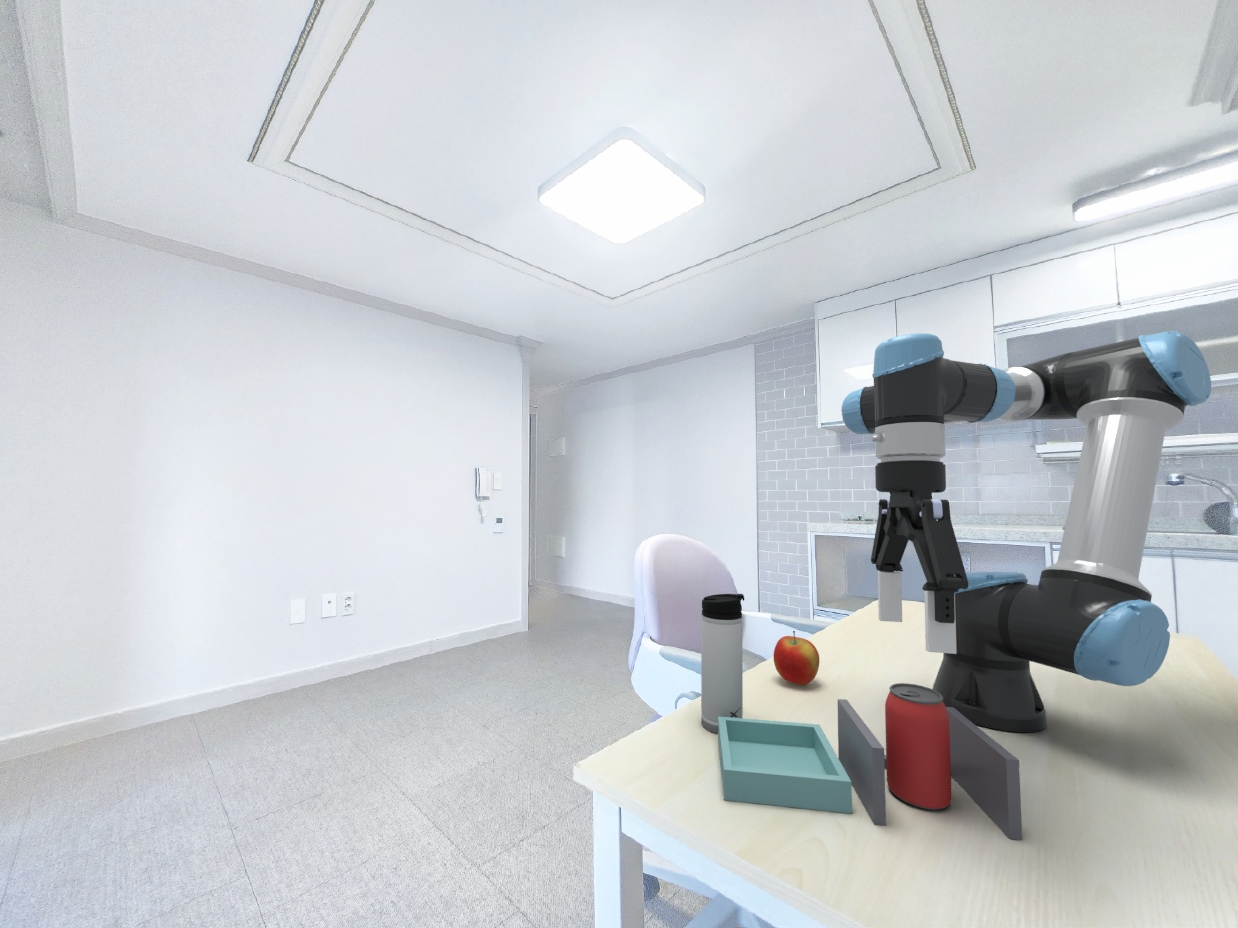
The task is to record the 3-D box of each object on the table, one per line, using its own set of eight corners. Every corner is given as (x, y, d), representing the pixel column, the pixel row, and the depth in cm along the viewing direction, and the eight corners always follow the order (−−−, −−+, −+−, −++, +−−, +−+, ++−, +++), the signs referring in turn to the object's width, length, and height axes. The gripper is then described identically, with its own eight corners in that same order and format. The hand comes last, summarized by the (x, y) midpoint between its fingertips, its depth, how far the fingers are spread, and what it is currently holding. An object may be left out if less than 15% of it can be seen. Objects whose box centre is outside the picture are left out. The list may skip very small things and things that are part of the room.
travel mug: (746, 737, 71) (745, 598, 73) (700, 732, 73) (700, 596, 74) (743, 718, 77) (743, 591, 79) (701, 714, 79) (702, 589, 80)
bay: (955, 770, 63) (953, 707, 64) (1022, 839, 50) (1018, 759, 51) (838, 760, 65) (837, 698, 66) (874, 824, 53) (872, 747, 53)
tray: (819, 749, 68) (819, 724, 68) (851, 813, 54) (851, 781, 55) (717, 740, 70) (718, 716, 70) (724, 799, 56) (724, 769, 57)
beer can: (875, 780, 61) (873, 681, 62) (924, 778, 61) (922, 680, 62) (911, 814, 54) (908, 703, 55) (966, 811, 55) (962, 702, 56)
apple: (827, 684, 92) (827, 631, 93) (805, 695, 87) (805, 638, 87) (789, 672, 98) (788, 622, 99) (766, 682, 93) (765, 628, 94)
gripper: (846, 467, 73) (847, 609, 72) (923, 450, 49) (928, 667, 47) (899, 467, 72) (902, 612, 71) (1006, 451, 48) (1013, 672, 46)
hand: (912, 634), depth 59 cm, fingers open, 13 cm apart
